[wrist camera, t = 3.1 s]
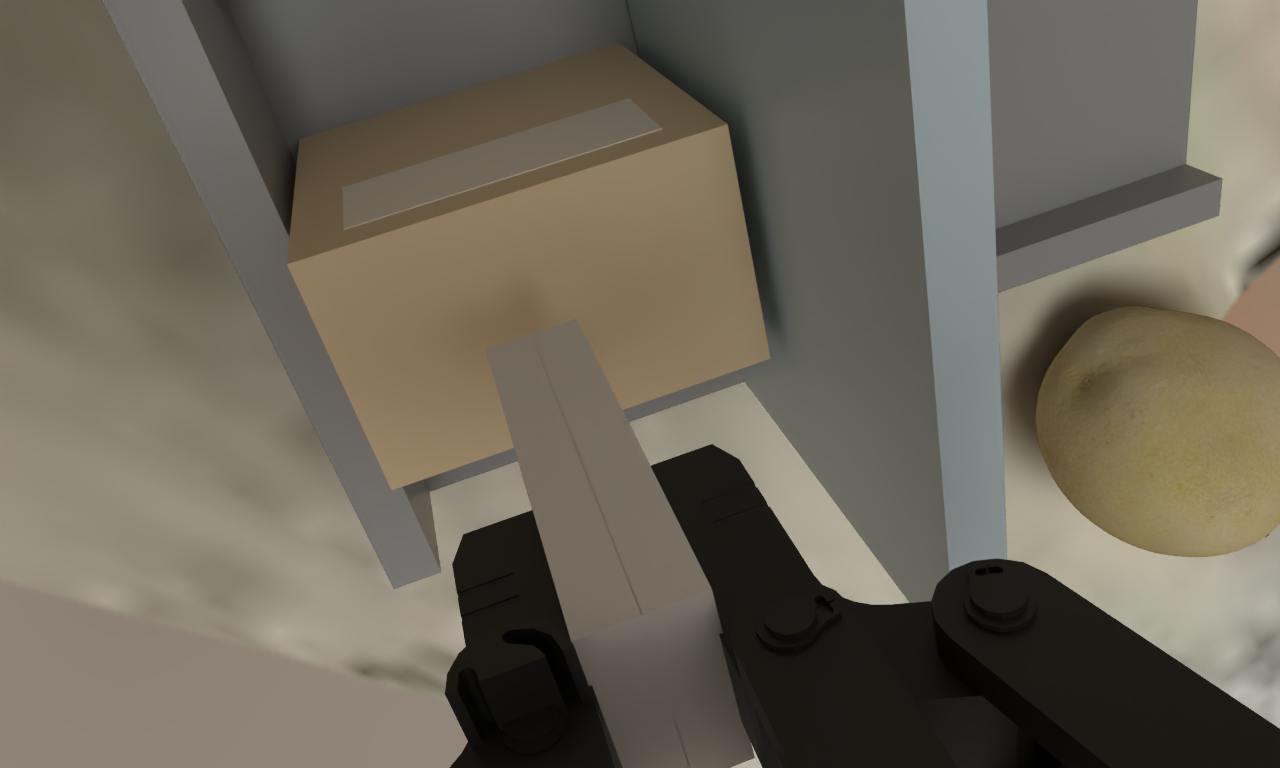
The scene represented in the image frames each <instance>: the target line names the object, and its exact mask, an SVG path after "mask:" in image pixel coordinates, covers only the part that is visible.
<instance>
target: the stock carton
mask: <svg viewBox="0 0 1280 768" xmlns="http://www.w3.org/2000/svg"><path fill="white" fill-rule="evenodd" d="M287 266H288V268H289V270H290V272H291V274H292V277H293V279H294V281H295V283H296V285H297V287H298V290H299V292H300V294H301V296H302V298H303V300H304V303H305V305H306V307H307V309H308V311H309V313H310V315H311V318H312V320H313V322H314V324H315V326H316V328H317V331H318V333H319V335H320V337H321V339H322V341H323V344H324V346H325V348H326V350H327V352H328V354H329V356H330V359H331V361H332V363H333V365H334V367H335V369H336V372H337V374H338V376H339V378H340V380H341V382H342V385H343V387H344V389H345V391H346V393H347V395H348V398H349V400H350V402H351V404H352V406H353V408H354V410H355V413H356V415H357V417H358V419H359V421H360V423H361V426H362V428H363V430H364V432H365V434H366V436H367V439H368V441H369V443H370V445H371V447H372V449H373V451H374V454H375V456H376V458H377V460H378V462H379V464H380V467H381V469H382V471H383V473H384V475H385V477H386V480H387V482H388V484H389V486H390V488H391V490H395V489H397V488H400V487H403V486H406V485H409V484H412V483H415V482H418V481H420V480H423V479H426V478H429V477H432V476H435V475H438V474H441V473H443V472H446V471H449V470H452V469H455V468H458V467H461V466H464V465H466V464H469V463H472V462H475V461H478V460H481V459H484V458H487V457H489V456H492V455H495V454H498V453H501V452H504V451H507V450H509V449H512V448H514V445H513V442H512V438H511V435H510V432H509V428H508V425H507V421H506V418H505V415H504V411H503V408H502V404H501V401H500V398H499V394H498V391H497V388H496V384H495V381H494V377H493V374H492V371H491V367H490V364H489V360H488V357H487V354H486V350H485V349H487V348H490V347H493V346H496V345H499V344H502V343H505V342H508V341H511V340H514V339H517V338H520V337H523V336H526V335H529V334H532V333H535V332H538V331H541V330H544V329H547V328H550V327H553V326H556V325H559V324H562V323H565V322H568V321H571V320H574V319H577V320H578V322H579V324H580V326H581V328H582V330H583V332H584V334H585V336H586V338H587V340H588V342H589V344H590V346H591V348H592V350H593V352H594V354H595V356H596V358H597V360H598V362H599V364H600V366H601V368H602V370H603V372H604V374H605V376H606V378H607V380H608V382H609V384H610V386H611V388H612V390H613V392H614V394H615V396H616V398H617V400H618V402H619V404H620V406H621V408H622V410H624V409H627V408H630V407H633V406H636V405H639V404H642V403H645V402H647V401H650V400H653V399H656V398H659V397H662V396H665V395H668V394H670V393H673V392H676V391H679V390H682V389H685V388H688V387H691V386H693V385H696V384H699V383H702V382H705V381H708V380H711V379H713V378H716V377H719V376H722V375H725V374H728V373H731V372H734V371H736V370H739V369H742V368H745V367H748V366H751V365H754V364H757V363H759V362H762V361H765V360H768V359H770V353H769V348H768V342H767V337H766V331H765V326H764V320H763V315H762V310H761V304H760V299H759V293H758V288H757V282H756V277H755V271H754V266H753V260H752V255H751V249H750V244H749V238H748V233H747V227H746V222H745V216H744V211H743V205H742V200H741V195H740V189H739V184H738V178H737V173H736V167H735V162H734V156H733V151H732V145H731V140H730V134H729V129H728V124H727V123H725V122H724V121H723V120H721V119H720V118H719V117H717V116H716V115H715V114H713V113H712V112H711V111H709V110H708V109H707V108H706V107H704V106H703V105H702V104H700V103H699V102H698V101H696V100H695V99H694V98H692V97H691V96H690V95H688V94H687V93H686V92H684V91H683V90H682V89H680V88H679V87H678V86H676V85H675V84H674V83H672V82H671V81H670V80H668V79H667V78H666V77H664V76H663V75H662V74H660V73H659V72H658V71H656V70H655V69H654V68H652V67H651V66H650V65H648V64H647V63H646V62H644V61H643V60H642V59H640V58H639V57H638V56H636V55H635V54H634V53H632V52H631V51H630V50H628V49H627V48H626V47H624V46H623V45H622V44H620V43H619V42H616V43H613V44H610V45H606V46H603V47H600V48H596V49H593V50H590V51H587V52H583V53H580V54H577V55H573V56H570V57H567V58H564V59H560V60H557V61H554V62H550V63H547V64H544V65H541V66H537V67H534V68H531V69H527V70H524V71H521V72H518V73H514V74H511V75H508V76H504V77H501V78H498V79H495V80H491V81H488V82H485V83H482V84H478V85H475V86H472V87H468V88H465V89H462V90H459V91H455V92H452V93H449V94H445V95H442V96H439V97H436V98H432V99H429V100H426V101H422V102H419V103H416V104H413V105H409V106H406V107H403V108H399V109H396V110H393V111H390V112H386V113H383V114H380V115H376V116H373V117H370V118H367V119H363V120H360V121H357V122H353V123H350V124H347V125H344V126H340V127H337V128H334V129H331V130H327V131H324V132H321V133H317V134H314V135H311V136H308V137H304V138H301V139H299V148H298V158H297V168H296V178H295V188H294V198H293V208H292V218H291V228H290V238H289V248H288V258H287Z"/></svg>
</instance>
